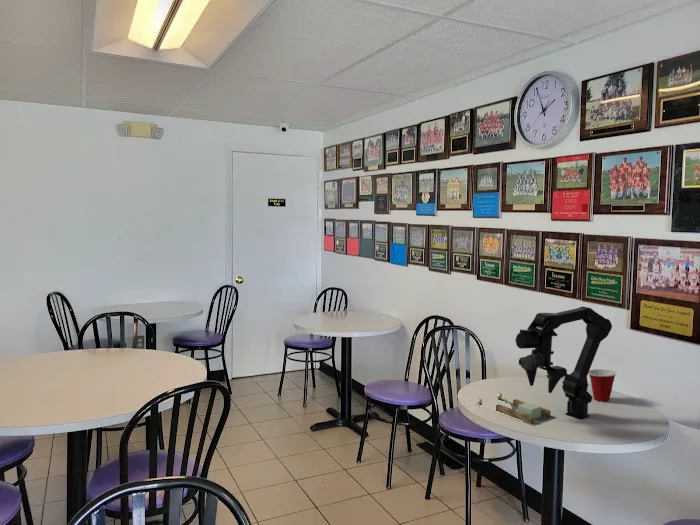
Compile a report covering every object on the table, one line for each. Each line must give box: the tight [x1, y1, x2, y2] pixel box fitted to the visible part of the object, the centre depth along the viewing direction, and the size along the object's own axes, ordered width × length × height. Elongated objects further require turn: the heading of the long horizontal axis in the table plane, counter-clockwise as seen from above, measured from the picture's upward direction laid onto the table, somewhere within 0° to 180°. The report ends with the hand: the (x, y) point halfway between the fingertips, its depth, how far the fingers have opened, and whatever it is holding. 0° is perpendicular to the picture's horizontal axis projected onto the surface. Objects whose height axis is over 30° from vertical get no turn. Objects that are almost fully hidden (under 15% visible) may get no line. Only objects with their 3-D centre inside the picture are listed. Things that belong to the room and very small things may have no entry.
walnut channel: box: [496, 399, 552, 424], centre depth 205 cm, size 16×12×2 cm
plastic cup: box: [588, 368, 617, 403], centre depth 222 cm, size 11×11×12 cm
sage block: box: [518, 401, 542, 419], centre depth 202 cm, size 6×6×4 cm
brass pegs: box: [477, 392, 503, 405], centre depth 218 cm, size 2×14×2 cm, turn 125°
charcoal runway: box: [503, 399, 557, 427], centre depth 208 cm, size 28×14×1 cm, turn 35°
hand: (540, 389), depth 197 cm, fingers open, 9 cm apart
